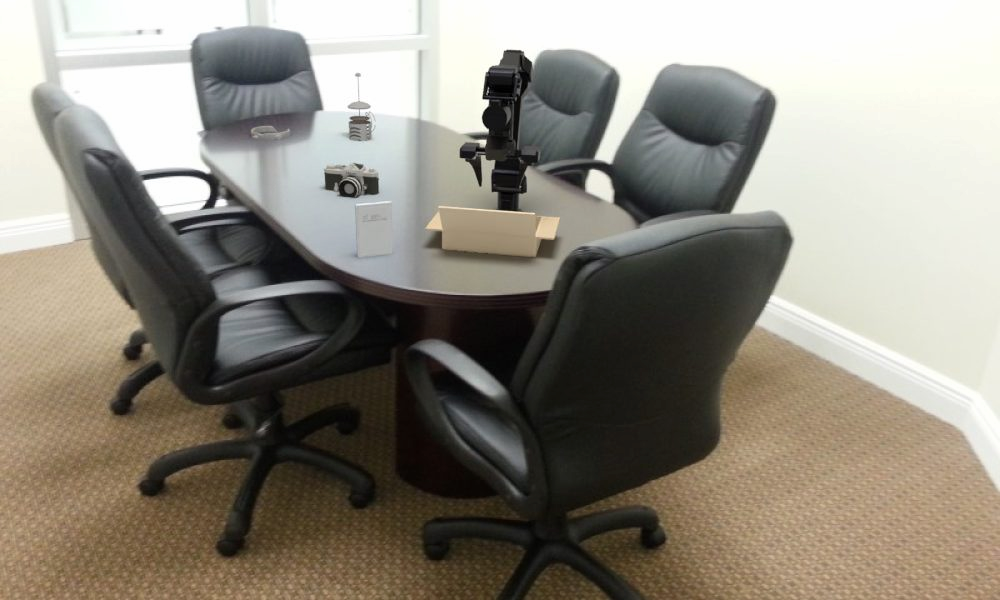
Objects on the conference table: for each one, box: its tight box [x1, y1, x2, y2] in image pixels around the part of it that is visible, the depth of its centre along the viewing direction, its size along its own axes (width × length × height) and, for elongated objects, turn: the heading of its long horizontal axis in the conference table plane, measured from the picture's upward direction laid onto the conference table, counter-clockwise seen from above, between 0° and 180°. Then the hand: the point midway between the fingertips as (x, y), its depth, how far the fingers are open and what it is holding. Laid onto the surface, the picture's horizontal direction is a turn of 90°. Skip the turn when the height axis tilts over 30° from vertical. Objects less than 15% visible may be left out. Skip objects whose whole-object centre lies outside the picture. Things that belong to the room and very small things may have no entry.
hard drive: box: [354, 200, 394, 258], centre depth 182 cm, size 2×8×12 cm, turn 115°
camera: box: [323, 162, 380, 199], centre depth 226 cm, size 16×9×10 cm, turn 78°
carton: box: [425, 210, 561, 258], centre depth 194 cm, size 16×30×5 cm, turn 81°
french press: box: [346, 72, 376, 142], centre depth 282 cm, size 10×12×25 cm
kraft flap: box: [438, 205, 536, 237], centre depth 182 cm, size 8×22×1 cm
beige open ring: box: [250, 125, 292, 141], centre depth 285 cm, size 14×14×5 cm
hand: (499, 187), depth 196 cm, fingers open, 9 cm apart
